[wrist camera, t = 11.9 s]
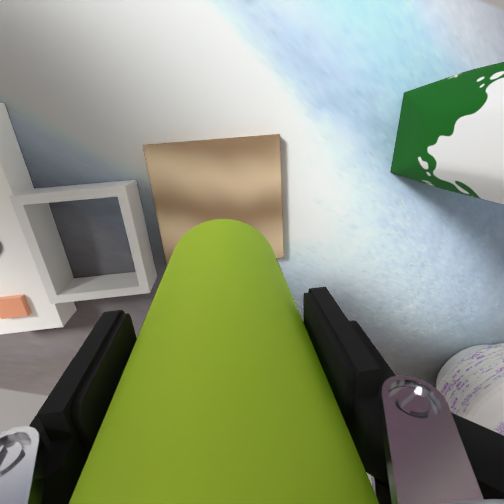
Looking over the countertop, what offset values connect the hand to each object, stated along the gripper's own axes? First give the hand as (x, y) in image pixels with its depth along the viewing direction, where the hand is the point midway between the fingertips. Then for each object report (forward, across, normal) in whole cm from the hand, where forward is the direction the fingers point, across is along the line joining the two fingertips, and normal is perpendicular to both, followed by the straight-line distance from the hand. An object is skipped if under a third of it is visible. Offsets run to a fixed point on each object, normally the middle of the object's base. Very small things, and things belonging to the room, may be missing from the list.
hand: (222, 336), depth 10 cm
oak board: (+20, 0, 0) cm, 20 cm away
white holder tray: (+20, +16, 0) cm, 26 cm away
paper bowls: (+21, -32, +27) cm, 47 cm away
